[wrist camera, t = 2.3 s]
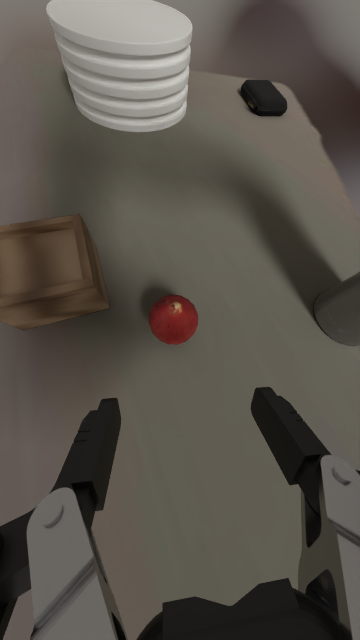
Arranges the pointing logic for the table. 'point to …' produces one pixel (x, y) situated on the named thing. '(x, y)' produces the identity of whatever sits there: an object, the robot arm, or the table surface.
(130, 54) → the plate stack
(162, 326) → the onion
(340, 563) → the robot arm
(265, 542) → the table surface
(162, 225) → the table surface
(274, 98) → the carrying case or bag
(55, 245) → the wooden tray
